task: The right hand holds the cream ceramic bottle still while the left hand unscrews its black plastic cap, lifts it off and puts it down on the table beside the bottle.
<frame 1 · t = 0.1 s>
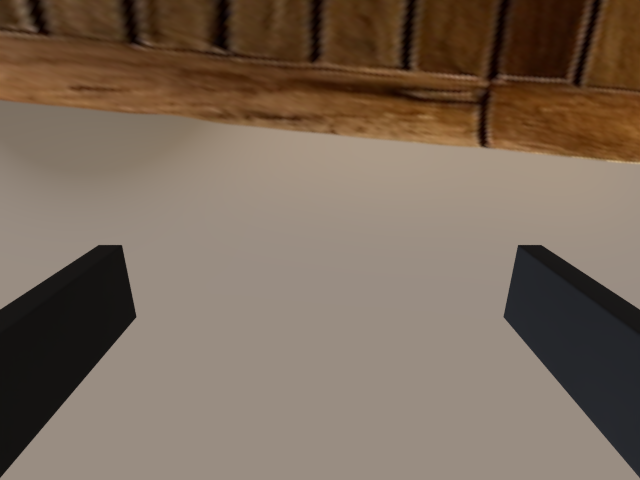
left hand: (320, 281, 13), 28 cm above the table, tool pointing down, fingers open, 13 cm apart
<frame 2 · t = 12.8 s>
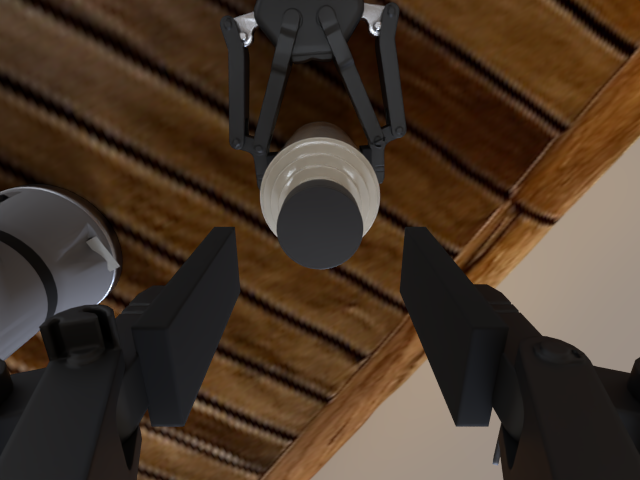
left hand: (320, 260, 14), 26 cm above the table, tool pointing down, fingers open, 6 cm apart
right hand: (323, 220, 35), fingers closed on bottle, 7 cm apart
cap: (319, 227, 18), point 23 cm above the table, screwed on, not yet turned
bottle: (319, 158, 39), on the table, touching right hand
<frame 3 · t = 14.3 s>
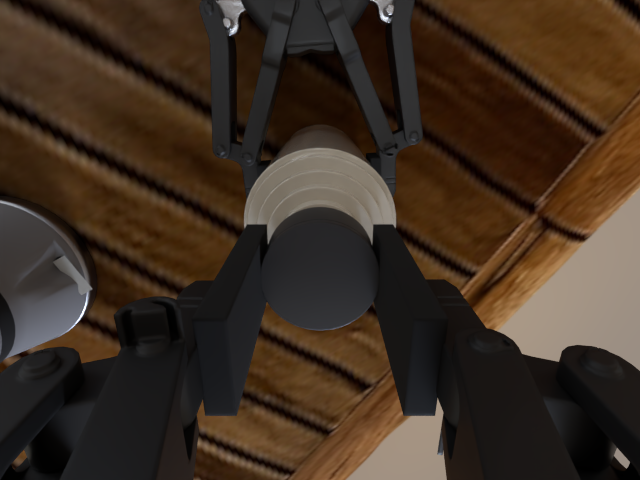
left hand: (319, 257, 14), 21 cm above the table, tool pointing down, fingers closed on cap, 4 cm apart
right hand: (324, 240, 30), fingers closed on bottle, 7 cm apart
cap: (320, 275, 13), point 23 cm above the table, screwed on, not yet turned, touching left hand
bottle: (320, 166, 34), on the table, touching right hand
when the left hand's fingers open (2 cm above the table, at t = 31.9 s): cap drops 2 cm, point 2 cm above the table.
when the right hand's fingers open (6 cm above the table, at t = 33.2 s): bottle stays where it is, on the table.
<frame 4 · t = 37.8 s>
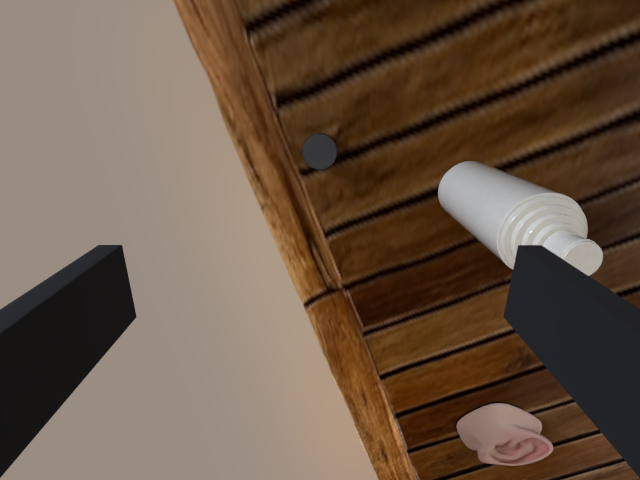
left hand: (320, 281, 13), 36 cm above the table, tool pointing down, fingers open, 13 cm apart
cap: (319, 151, 45), point 2 cm above the table, off its thread
anatomical model: (496, 428, 62), on the table
bottle: (467, 190, 48), on the table
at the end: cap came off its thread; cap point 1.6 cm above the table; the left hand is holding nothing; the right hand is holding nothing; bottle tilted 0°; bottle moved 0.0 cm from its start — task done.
